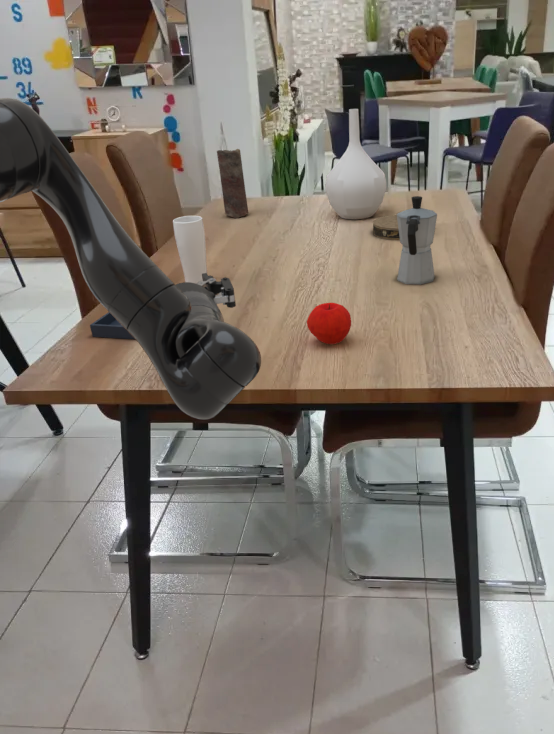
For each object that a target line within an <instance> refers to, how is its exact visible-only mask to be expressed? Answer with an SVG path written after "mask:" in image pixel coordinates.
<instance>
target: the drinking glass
mask: <svg viewBox="0 0 554 734" xmlns="http://www.w3.org/2000/svg"><path fill="white" fill-rule="evenodd" d="M203 219H204V218H203V217H202V216H199V215H184V216H183V215H182V216H179V217H176V218H174V219H173V220H172V227H173V235H174V239H175V243H176V244H175V245H176V248H177V253H178V256H179V260H180V265H181V269H182V274H183V278H184V282H191V283H198V282H199V281H203V279H202V274H203V273H207V274H208V262H207V245H206V244H207V242H206V232H205V231H206V230H205V225H204V220H203Z"/></svg>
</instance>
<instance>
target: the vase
mask: <svg viewBox="0 0 554 734" xmlns="http://www.w3.org/2000/svg"><path fill="white" fill-rule="evenodd" d="M348 133H349V135H348V137H349V142H348V146H347V147H346V150H345V152H343V154H342V156H341V157H340V158H339V159H338V161H337V163H336V164H335V165H334V166H333V167H332V169H331V170H330V171H329V172H328V173H327V175H326V178H325V182H324V183H325V184H324V187H325V194H326V197H327V200H328V203H329V205H330V207H331V208H332V210H333V211H334V212H335V213H336V214H337V215H338V216H339V217H340V218H341V219H345V220H354V221H355V220H364V219H368V218H371V217H372V216H374V215H375V214H376V212H378V210H380V209H379V208H380V207H381V205H382V203H383V201H384V197H385V195H386V192H387V179H386V174H385V172H384V171H383V170H382V169H381V167H379V165H378V164H377V163H375V161H374V160H373V159H372V158H371V157H370V155H368V153H367V152H366V150H365V149H364V148H363V146H362V144H361V140H360V116H359V108H350V109H348Z"/></svg>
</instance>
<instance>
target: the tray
mask: <svg viewBox="0 0 554 734" xmlns="http://www.w3.org/2000/svg"><path fill="white" fill-rule="evenodd" d="M89 328H90V331H91V336H92V337H93V338H105V339H106V338H108V339H121V340H123V339H124V340H136V339H135V338H134V337H133V336H132V335H131V334H130V333H129V332H128V330H126V329H125V328H124V327H123V326H122V325H121V324H120V323H119V322H118V321H117V320H116V319H115V318H114V317H113V316H112V315H111V314H110V312H109V311H107V313H105V314H104V315H102V316H100V317H99V318H98V319H96V320H95V321H94V322H91V324H89Z"/></svg>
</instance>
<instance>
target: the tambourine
mask: <svg viewBox="0 0 554 734" xmlns="http://www.w3.org/2000/svg"><path fill="white" fill-rule="evenodd" d="M372 230H373V231H372V234H373V235H374V236H375V237H377V238H380V239H384V240H385V239H386V240H395V241H400V236H399V229H398V221H397V214H390V215H384V216H380V217H377V218H375V219H374V220H373V221H372Z"/></svg>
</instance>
